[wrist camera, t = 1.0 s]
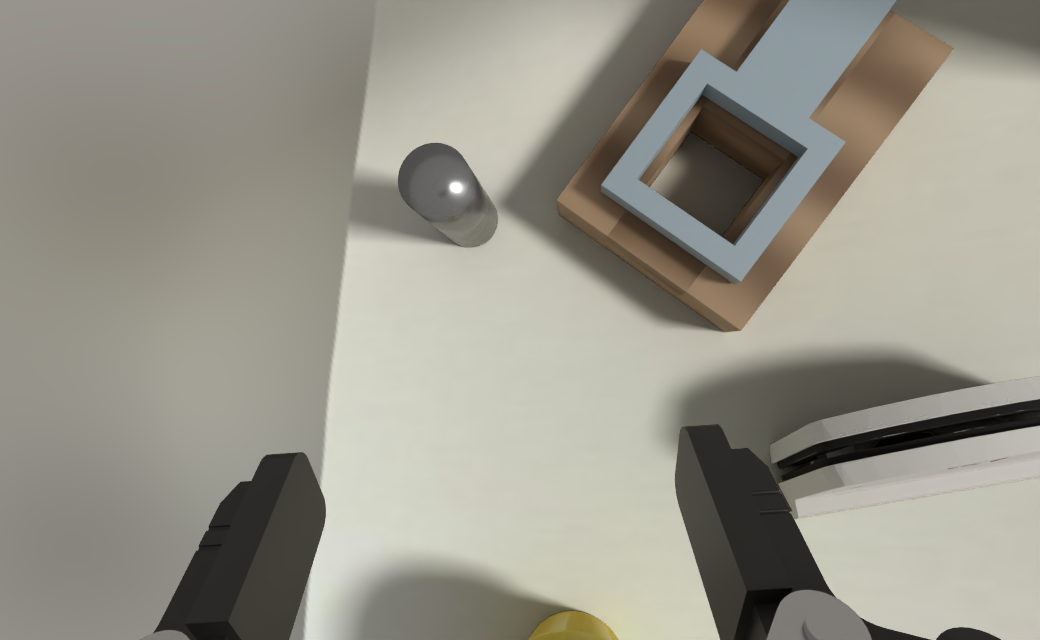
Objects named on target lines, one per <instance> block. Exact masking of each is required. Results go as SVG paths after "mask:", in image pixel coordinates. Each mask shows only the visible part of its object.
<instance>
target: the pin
mask: <svg viewBox="0 0 1040 640" xmlns="http://www.w3.org/2000/svg"><path fill="white" fill-rule="evenodd" d="M398 186H399V190H400V193H401V196H402V198H403V199H404V201H405V202H406V203H407V204H408V206H410V207H411V208H412V209H413V210H414V211H416V212H417V213H418V214H419V215H421V216H422V217H423V218H424V219H426V220H427V221H428V222H429V223H431V224H432V225H433V226H434V227H436V228H437V229H438V230H439V231H441V232H442V233H443V234H444V235H446V236H447V237H448V238H449V239H451V240H452V241H453V242H454V243H456V244H458V245H460V246H463V247H477V246H480V245H482V244H484V243H486V242H487V241H488V240H489V239H490V238H491V237H492V236H493V234H494V233H495V230H496V228H497V224H498V215H497V211H496V208H495V206H494V204H493V203H492V201H491V200H490V198H489V197H488V195H487V194H486V192H485V190H484V189H483V187H482V186H481V184H480V183H479V181H478V179H477V178H476V176H475V175H474V173H473V172H472V170H471V169H470V167H469V165H468V164H467V162H466V161H465V159H464V158H463V156H462V155H461V154H460V153H459V152H458V151H457V150H456V149H454V148H452V147H451V146H448V145H446V144H442V143H429V144H425V145H422V146H420V147H418V148H416V149H415V150H413V151H412V152H411V153H410V154H409V155H408V156H407V157H406V158H405V160H404V161H403V163H402V165H401V168H400V171H399V175H398Z"/></svg>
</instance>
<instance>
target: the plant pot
mask: <svg viewBox="0 0 1040 640" xmlns="http://www.w3.org/2000/svg"><path fill="white" fill-rule="evenodd" d="M528 640H618V639H617V637H616V636H615V634H614V633H613V631H612V630H611V629H610V628H609V627H608V626H607V625H606V624H605V623H603V622H602V621H601V620H599V619H598V618H596V617H594V616H592V615H590V614H587V613H583V612H578V611H566V612H560V613H557V614H554V615H552V616H550V617H548V618H547V619H545V620H544V621H543V622H541V623H540V624H539V625H538V627H537V628H536V629H535V630H534V632H533V633H532V635H531V636H530V638H529V639H528Z"/></svg>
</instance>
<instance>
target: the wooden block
mask: <svg viewBox="0 0 1040 640" xmlns="http://www.w3.org/2000/svg"><path fill="white" fill-rule="evenodd" d="M788 2H789V0H703V2H702V3H701V4H700V6H699V7H698V8H697V10H696V11H695V12H694V14H693V15H692V16H691V18H690V19H689V21H688V22H687V23H686V25H685V26H684V27H683V29H682V30H681V31H680V33H679V34H678V35H677V37H676V38H675V40H674V41H673V42H672V44H671V45H670V46H669V48H668V49H667V50H666V52H665V53H664V54H663V56H662V57H661V59H660V60H659V61H658V63H657V64H656V65H655V67H654V68H653V69H652V71H651V72H650V74H649V75H648V76H647V78H646V79H645V80H644V82H643V83H642V84H641V86H640V87H639V88H638V90H637V91H636V93H635V94H634V95H633V97H632V98H631V99H630V101H629V102H628V103H627V105H626V106H625V107H624V109H623V110H622V112H621V113H620V114H619V116H618V117H617V118H616V120H615V121H614V122H613V124H612V125H611V126H610V128H609V129H608V131H607V132H606V133H605V135H604V136H603V137H602V139H601V140H600V141H599V143H598V144H597V145H596V147H595V148H594V150H593V151H592V152H591V154H590V155H589V156H588V158H587V159H586V160H585V162H584V163H583V164H582V166H581V167H580V169H579V170H578V171H577V173H576V174H575V175H574V177H573V178H572V179H571V181H570V182H569V184H568V185H567V186H566V188H565V189H564V190H563V192H562V193H561V194H560V196H559V197H558V198H557V200H556V201H557V206H558V211H559V215H560V216H562V217H563V218H565V219H566V220H567V221H569V222H570V223H572V224H573V225H574V226H576V227H577V228H579V229H580V230H581V231H583V232H584V233H586V234H587V235H589V236H590V237H591V238H593V239H594V240H596V241H597V242H598V243H600V244H601V245H603V246H604V247H605V248H607V249H608V250H610V251H611V252H612V253H614V254H615V255H617V256H618V257H620V258H621V259H622V260H624V261H625V262H627V263H628V264H629V265H631V266H632V267H634V268H635V269H636V270H638V271H639V272H641V273H642V274H644V275H645V276H646V277H648V278H649V279H651V280H652V281H653V282H655V283H656V284H658V285H659V286H660V287H662V288H663V289H665V290H666V291H667V292H669V293H670V294H672V295H673V296H675V297H676V298H677V299H679V300H680V301H682V302H683V303H684V304H686V305H687V306H689V307H690V308H691V309H693V310H694V311H696V312H697V313H698V314H700V315H701V316H703V317H704V318H706V319H707V320H708V321H710V322H711V323H713V324H714V325H715V326H717V327H718V328H720V329H721V330H722V331H724V332H731V331H741V330H742V329H743V327H744V326H745V325H746V323H747V322H748V321H749V319H750V318H751V317H752V315H753V314H754V313H755V311H756V310H757V309H758V307H759V306H760V305H761V303H762V302H763V301H764V299H765V298H766V297H767V295H768V294H769V293H770V291H771V290H772V289H773V287H774V286H775V285H776V284H777V282H778V281H779V280H780V278H781V277H782V276H783V274H784V273H785V272H786V270H787V269H788V268H789V266H790V265H791V264H792V262H793V261H794V260H795V258H796V257H797V256H798V254H799V253H800V252H801V250H802V249H803V248H804V246H805V245H806V244H807V242H808V241H809V240H810V238H811V237H812V236H813V234H814V233H815V232H816V231H817V229H818V228H819V227H820V225H821V224H822V223H823V221H824V220H825V219H826V217H827V216H828V215H829V213H830V212H831V211H832V209H833V208H834V207H835V205H836V204H837V203H838V201H839V200H840V199H841V197H842V196H843V195H844V193H845V192H846V191H847V189H848V188H849V187H850V185H851V184H852V183H853V182H854V180H855V179H856V178H857V176H858V175H859V174H860V172H861V171H862V170H863V168H864V167H865V166H866V164H867V163H868V162H869V160H870V159H871V158H872V156H873V155H874V154H875V152H876V151H877V150H878V148H879V147H880V146H881V144H882V143H883V142H884V140H885V139H886V138H887V136H888V135H889V134H890V132H891V131H892V130H893V129H894V127H895V126H896V125H897V123H898V122H899V121H900V119H901V118H902V117H903V115H904V114H905V113H906V111H907V110H908V109H909V107H910V106H911V105H912V103H913V102H914V101H915V99H916V98H917V97H918V95H919V94H920V93H921V91H922V90H923V89H924V87H925V86H926V85H927V83H928V82H929V81H930V79H931V78H932V77H933V76H934V74H935V73H936V72H937V70H938V69H939V68H940V66H941V65H942V64H943V62H944V61H945V60H946V58H947V57H948V56H949V54H950V53H951V52H952V50H953V49H954V48H952V47H951V46H949V45H947V44H946V43H944V42H942V41H941V40H939V39H937V38H936V37H934V36H932V35H931V34H929V33H927V32H926V31H924V30H922V29H921V28H919V27H917V26H916V25H914V24H912V23H911V22H909V21H907V20H906V19H904V18H902V17H901V16H899V15H897V14H896V13H894V12H892V11H891V10H889V12H888V13H887V14H886V16H885V17H884V18H883V20H882V21H881V22H880V24H879V25H878V26H877V28H876V29H875V30H874V32H873V33H872V34H871V36H870V37H869V38H868V40H867V41H866V42H865V44H864V45H863V46H862V48H861V49H860V50H859V52H858V53H857V54H856V56H855V57H854V59H853V60H852V61H851V63H850V64H849V65H848V67H847V68H846V69H845V71H844V72H843V73H842V75H841V76H840V77H839V79H838V80H837V81H836V83H835V84H834V85H833V87H832V88H831V89H830V91H829V92H828V93H827V95H826V96H825V97H824V99H823V100H822V101H821V103H820V104H819V105H818V107H817V108H816V109H815V111H814V112H813V113H812V115H811V116H810V117H809V119H811V120H812V121H814V122H816V123H817V124H819V125H820V126H822V127H823V128H825V129H826V130H828V131H830V132H831V133H833V134H834V135H836V136H837V137H839V138H841V139H842V140H844V141H845V142H846V143H845V144H844V145H843V147H842V148H841V149H840V151H839V152H838V153H837V155H836V156H835V157H834V159H833V160H832V161H831V163H830V164H829V165H828V167H827V168H826V169H825V171H824V172H823V173H822V175H821V176H820V177H819V179H818V180H817V181H816V183H815V184H814V185H813V186H812V188H811V189H810V190H809V192H808V193H807V194H806V196H805V197H804V198H803V200H802V201H801V202H800V204H799V205H798V206H797V208H796V209H795V210H794V212H793V213H792V214H791V216H790V217H789V218H788V220H787V221H786V222H785V224H784V225H783V226H782V228H781V229H780V230H779V232H778V233H777V234H776V236H775V237H774V238H773V240H772V241H771V242H770V244H769V245H768V246H767V248H766V249H765V250H764V252H763V253H762V254H761V256H760V257H759V258H758V260H757V261H756V262H755V264H754V265H753V266H752V268H751V269H750V270H749V272H748V273H747V274H746V276H745V277H744V278H743V280H742V281H741V282H739V283H736V284H733V283H731V282H730V281H729V280H727V279H726V278H724V277H723V276H721V275H720V274H718V273H717V272H716V271H714V270H713V269H711V268H710V267H708V266H707V265H706V264H704V263H703V262H701V261H700V260H698V259H697V258H695V257H694V256H693V255H691V254H690V253H688V252H687V251H685V250H684V249H683V248H681V247H680V246H678V245H677V244H675V243H674V242H672V241H671V240H670V239H668V238H667V237H665V236H664V235H662V234H661V233H660V232H658V231H657V230H655V229H654V228H652V227H651V226H649V225H648V224H647V223H645V222H644V221H642V220H641V219H639V218H638V217H637V216H635V215H634V214H632V213H631V212H629V211H628V210H626V209H625V208H624V207H622V206H621V205H619V204H618V203H616V202H615V201H614V200H612V199H611V198H609V197H608V196H606V195H605V194H603V193H602V192H601V184H602V183H603V182H604V180H605V179H606V178H607V176H608V175H609V174H610V172H611V171H612V170H613V168H614V167H615V165H616V164H617V163H618V161H619V160H620V159H621V157H622V156H623V155H624V153H625V152H626V151H627V149H628V148H629V146H630V145H631V144H632V142H633V141H634V140H635V138H636V137H637V136H638V134H639V133H640V132H641V130H642V129H643V128H644V126H645V125H646V123H647V122H648V121H649V119H650V118H651V117H652V115H653V114H654V113H655V111H656V110H657V109H658V107H659V106H660V105H661V103H662V102H663V100H664V99H665V98H666V96H667V95H668V94H669V92H670V91H671V90H672V88H673V87H674V86H675V84H676V83H677V82H678V80H679V79H680V77H681V76H682V75H683V73H684V72H685V71H686V69H687V68H688V67H689V65H690V64H691V63H692V61H693V60H694V58H695V57H696V56H697V54H698V53H699V52H700V50H701V49H702V50H703V51H705V52H706V53H708V54H710V55H711V56H713V57H714V58H716V59H717V60H719V61H720V62H722V63H724V64H725V65H727V66H728V67H730V68H731V69H733V70H734V71H736V72H737V70H738V69H739V68H740V66H741V65H742V64H743V62H744V61H745V60H746V58H747V57H748V56H749V54H750V53H751V52H752V50H753V49H754V48H755V46H756V45H757V44H758V42H759V41H760V39H761V38H762V37H763V35H764V34H765V33H766V31H767V30H768V29H769V27H770V26H771V25H772V23H773V22H774V21H775V19H776V18H777V17H778V15H779V14H780V13H781V11H782V10H783V8H784V7H785V6H786V4H787V3H788ZM691 131H692V132H693V133H695V134H696V135H698V136H699V137H701V138H702V139H704V140H705V141H707V142H708V143H710V144H711V145H713V146H714V147H716V148H717V149H719V150H720V151H722V152H723V153H725V154H726V155H728V156H729V157H731V158H732V159H734V160H735V161H737V162H738V163H740V164H741V165H743V166H744V167H746V168H747V169H749V170H750V171H752V172H753V173H755V174H756V175H758V176H759V177H761V178H762V179H764V181H763V182H762V183H761V185H760V186H759V187H758V189H757V190H756V191H755V193H754V194H753V195H752V197H751V198H750V199H749V201H748V202H747V203H746V205H745V206H744V207H743V209H742V210H741V212H740V213H739V214H738V216H737V217H736V218H735V220H734V221H733V222H732V224H731V225H730V226H729V228H728V229H727V230H726V232H725V233H724V234H723V236H722V237H723V238H724V239H726V240H727V241H728V242H730V243H731V244H733V243H734V242H735V241H736V239H737V238H738V237H739V235H740V234H741V233H742V231H743V230H744V229H745V227H746V226H747V225H748V223H749V222H750V221H751V219H752V218H753V217H754V215H755V214H756V213H757V211H758V210H759V209H760V207H761V206H762V205H763V203H764V202H765V201H766V199H767V198H768V197H769V195H770V194H771V193H772V191H773V190H774V189H775V187H776V186H777V185H778V183H779V182H780V181H781V179H782V178H783V177H784V175H785V174H786V173H787V171H788V170H789V169H790V167H791V166H792V165H793V163H794V162H795V161H796V159H797V158H798V157H797V156H795V155H794V154H792V153H791V152H789V151H788V150H786V149H785V148H783V147H782V146H780V145H779V144H777V143H775V142H774V141H772V140H771V139H769V138H768V137H766V136H765V135H763V134H762V133H760V132H759V131H757V130H756V129H754V128H752V127H751V126H749V125H748V124H746V123H745V122H743V121H742V120H740V119H739V118H737V117H736V116H734V115H733V114H731V113H730V112H728V111H726V110H725V109H723V108H722V107H720V106H719V105H717V104H716V103H714V102H713V101H711V100H710V99H708V98H707V97H705V96H703V95H701V96H700V98H699V99H698V101H697V102H696V103H695V105H694V106H693V107H692V109H691V110H690V111H689V113H688V114H687V115H686V117H685V118H684V119H683V121H682V122H681V123H680V125H679V126H678V128H677V129H676V130H675V132H674V133H673V134H672V136H671V137H670V138H669V140H668V141H667V142H666V144H665V145H664V146H663V148H662V149H661V150H660V152H659V153H658V155H657V156H656V157H655V159H654V160H653V161H652V163H651V164H650V165H649V167H648V168H647V169H646V171H645V172H644V173H643V175H642V176H641V177H640V179H639V181H641V182H642V183H644V184H645V185H647V186H648V187H650V186H651V185H652V183H653V182H654V181H655V179H656V178H657V177H658V175H659V174H660V172H661V171H662V170H663V168H664V167H665V166H666V164H667V163H668V162H669V160H670V159H671V158H672V156H673V155H674V154H675V152H676V151H677V150H678V148H679V147H680V146H681V144H682V143H683V141H684V140H685V139H686V137H687V136H688V135H689V133H690V132H691Z"/></svg>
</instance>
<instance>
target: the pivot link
mask: <svg viewBox="0 0 1040 640" xmlns="http://www.w3.org/2000/svg"><path fill="white" fill-rule="evenodd" d="M896 1H897V0H789V2H788V3H787V4H786V6H785V7H784V8H783V10H782V11H781V13H780V14H779V15H778V17H777V18H776V19H775V21H774V22H773V23H772V25H771V26H770V27H769V29H768V30H767V31H766V33H765V34H764V35H763V37H762V38H761V39H760V41H759V42H758V44H757V45H756V46H755V48H754V49H753V50H752V52H751V53H750V54H749V56H748V57H747V58H746V60H745V61H744V62H743V64H742V65H741V66H740V68H739V69H738V70H737V72H736V71H734V70H733V69H731V68H730V67H728V66H727V65H725V64H724V63H722V62H720V61H719V60H717V59H716V58H714V57H713V56H711V55H710V54H708V53H706V52H705V51H703V50H702V49H701V50H700V52H699V53H698V54H697V56H696V57H695V58H694V60H693V61H692V63H691V64H690V65H689V67H688V68H687V69H686V71H685V72H684V73H683V75H682V76H681V77H680V79H679V80H678V82H677V83H676V84H675V86H674V87H673V88H672V90H671V91H670V92H669V94H668V95H667V96H666V98H665V99H664V100H663V102H662V103H661V105H660V106H659V107H658V109H657V110H656V111H655V113H654V114H653V115H652V117H651V118H650V119H649V121H648V122H647V123H646V125H645V126H644V128H643V129H642V130H641V132H640V133H639V134H638V136H637V137H636V138H635V140H634V141H633V142H632V144H631V145H630V146H629V148H628V149H627V151H626V152H625V153H624V155H623V156H622V157H621V159H620V160H619V161H618V163H617V164H616V165H615V167H614V168H613V170H612V171H611V172H610V174H609V175H608V176H607V178H606V179H605V180H604V182H603V183H602V184H601V192H602V193H603V194H605V195H606V196H608V197H609V198H611V199H612V200H614V201H615V202H616V203H618V204H619V205H621V206H622V207H624V208H625V209H626V210H628V211H629V212H631V213H632V214H634V215H635V216H637V217H638V218H639V219H641V220H642V221H644V222H645V223H647V224H648V225H649V226H651V227H652V228H654V229H655V230H657V231H658V232H660V233H661V234H662V235H664V236H665V237H667V238H668V239H670V240H671V241H672V242H674V243H675V244H677V245H678V246H680V247H681V248H683V249H684V250H685V251H687V252H688V253H690V254H691V255H693V256H694V257H695V258H697V259H698V260H700V261H701V262H703V263H704V264H706V265H707V266H708V267H710V268H711V269H713V270H714V271H716V272H717V273H718V274H720V275H721V276H723V277H724V278H726V279H727V280H729V281H730V282H731V283H733V284H736V283H739V282H741V281H742V280H743V278H744V277H745V276H746V274H747V273H748V272H749V270H750V269H751V268H752V266H753V265H754V264H755V262H756V261H757V260H758V258H759V257H760V256H761V254H762V253H763V252H764V250H765V249H766V248H767V246H768V245H769V244H770V242H771V241H772V240H773V238H774V237H775V236H776V234H777V233H778V232H779V230H780V229H781V228H782V226H783V225H784V224H785V222H786V221H787V220H788V218H789V217H790V216H791V214H792V213H793V212H794V210H795V209H796V208H797V206H798V205H799V204H800V202H801V201H802V200H803V198H804V197H805V196H806V194H807V193H808V192H809V190H810V189H811V188H812V186H813V185H814V184H815V183H816V181H817V180H818V179H819V177H820V176H821V175H822V173H823V172H824V171H825V169H826V168H827V167H828V165H829V164H830V163H831V161H832V160H833V159H834V157H835V156H836V155H837V153H838V152H839V151H840V149H841V148H842V147H843V145H844V144H845V143H846V142H845V141H844V140H842V139H841V138H839V137H837V136H836V135H834V134H833V133H831V132H830V131H828V130H826V129H825V128H823V127H822V126H820V125H819V124H817V123H816V122H814V121H812V120H811V119H809V117H810V116H811V115H812V113H813V112H814V111H815V109H816V108H817V107H818V105H819V104H820V103H821V101H822V100H823V99H824V97H825V96H826V95H827V93H828V92H829V91H830V89H831V88H832V87H833V85H834V84H835V83H836V81H837V80H838V79H839V77H840V76H841V75H842V73H843V72H844V71H845V69H846V68H847V67H848V65H849V64H850V63H851V61H852V60H853V59H854V57H855V56H856V54H857V53H858V52H859V50H860V49H861V48H862V46H863V45H864V44H865V42H866V41H867V40H868V38H869V37H870V36H871V34H872V33H873V32H874V30H875V29H876V28H877V26H878V25H879V24H880V22H881V21H882V20H883V18H884V17H885V16H886V14H887V13H888V12H889V10H890V9H891V8H892V6H893V5H894V4H895V2H896ZM701 95H703V96H705V97H707V98H708V99H710V100H711V101H713V102H714V103H716V104H717V105H719V106H720V107H722V108H723V109H725V110H726V111H728V112H730V113H731V114H733V115H734V116H736V117H737V118H739V119H740V120H742V121H743V122H745V123H746V124H748V125H749V126H751V127H752V128H754V129H756V130H757V131H759V132H760V133H762V134H763V135H765V136H766V137H768V138H769V139H771V140H772V141H774V142H775V143H777V144H779V145H780V146H782V147H783V148H785V149H786V150H788V151H789V152H791V153H792V154H794V155H795V156H797V157H798V158H797V159H796V161H795V162H794V163H793V165H792V166H791V167H790V169H789V170H788V171H787V173H786V174H785V175H784V177H783V178H782V179H781V181H780V182H779V183H778V185H777V186H776V187H775V189H774V190H773V191H772V193H771V194H770V195H769V197H768V198H767V199H766V201H765V202H764V203H763V205H762V206H761V207H760V209H759V210H758V211H757V213H756V214H755V215H754V217H753V218H752V219H751V221H750V222H749V223H748V225H747V226H746V227H745V229H744V230H743V231H742V233H741V234H740V235H739V237H738V238H737V239H736V241H735V242H734V243H733V244H731V243H730V242H728V241H727V240H726V239H724V238H723V237H721V236H720V235H718V234H717V233H715V232H714V231H712V230H711V229H709V228H708V227H707V226H705V225H704V224H702V223H701V222H699V221H698V220H696V219H695V218H693V217H692V216H691V215H689V214H688V213H686V212H685V211H683V210H682V209H680V208H679V207H677V206H676V205H674V204H673V203H672V202H670V201H669V200H667V199H666V198H664V197H663V196H661V195H660V194H658V193H657V192H656V191H654V190H653V189H651V188H650V187H648V186H647V185H645V184H644V183H642V182H641V181H639V179H640V177H641V176H642V175H643V173H644V172H645V171H646V169H647V168H648V167H649V165H650V164H651V163H652V161H653V160H654V159H655V157H656V156H657V155H658V153H659V152H660V150H661V149H662V148H663V146H664V145H665V144H666V142H667V141H668V140H669V138H670V137H671V136H672V134H673V133H674V132H675V130H676V129H677V128H678V126H679V125H680V123H681V122H682V121H683V119H684V118H685V117H686V115H687V114H688V113H689V111H690V110H691V109H692V107H693V106H694V105H695V103H696V102H697V101H698V99H699V98H700V96H701Z"/></svg>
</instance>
